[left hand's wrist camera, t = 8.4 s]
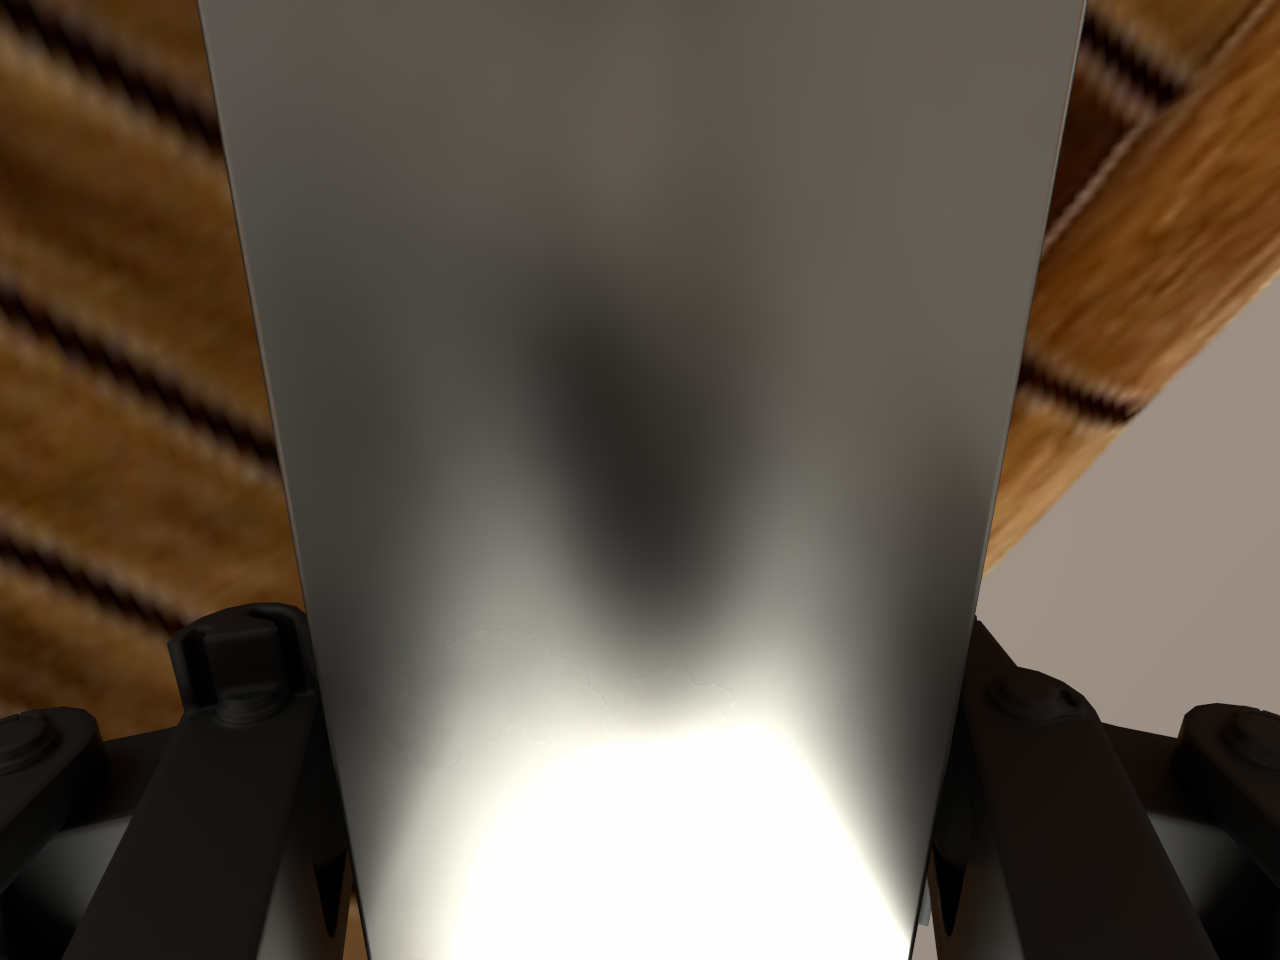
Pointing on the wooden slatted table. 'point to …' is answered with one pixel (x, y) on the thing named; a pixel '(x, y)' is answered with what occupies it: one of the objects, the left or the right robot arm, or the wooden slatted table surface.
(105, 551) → the wooden slatted table surface
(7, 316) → the wooden slatted table surface
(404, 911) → the bar
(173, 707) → the wooden slatted table surface
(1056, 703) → the left robot arm
